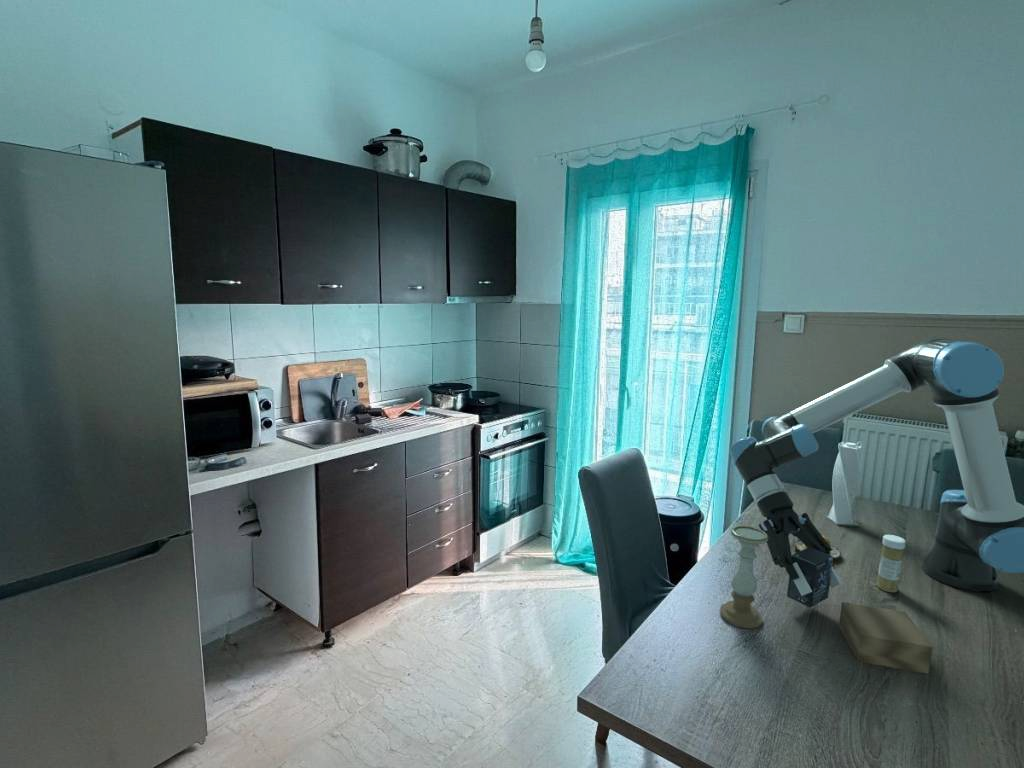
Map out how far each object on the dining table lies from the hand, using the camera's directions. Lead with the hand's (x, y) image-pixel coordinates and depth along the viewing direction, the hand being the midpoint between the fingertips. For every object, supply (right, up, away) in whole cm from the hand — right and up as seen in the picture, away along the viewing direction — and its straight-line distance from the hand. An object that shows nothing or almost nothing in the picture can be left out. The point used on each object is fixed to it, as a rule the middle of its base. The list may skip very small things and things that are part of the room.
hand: (822, 589), depth 119 cm
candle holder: (-18, -7, +1) cm, 19 cm away
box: (-1, -3, +4) cm, 5 cm away
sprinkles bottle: (+25, -5, +14) cm, 29 cm away
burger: (+17, -3, +32) cm, 37 cm away
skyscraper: (+38, +1, +54) cm, 66 cm away
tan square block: (+7, -9, -9) cm, 14 cm away
